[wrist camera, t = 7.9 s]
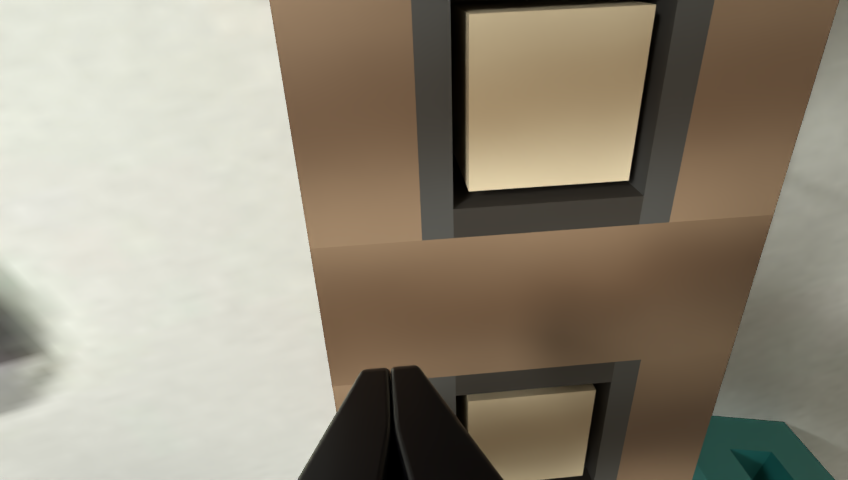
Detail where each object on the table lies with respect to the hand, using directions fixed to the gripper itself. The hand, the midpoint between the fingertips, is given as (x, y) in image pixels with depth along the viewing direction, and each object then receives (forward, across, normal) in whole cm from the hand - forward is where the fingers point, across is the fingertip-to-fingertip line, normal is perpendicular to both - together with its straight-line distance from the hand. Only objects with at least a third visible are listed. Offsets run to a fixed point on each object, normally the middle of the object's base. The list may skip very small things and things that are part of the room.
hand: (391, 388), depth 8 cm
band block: (+12, -4, +3) cm, 13 cm away
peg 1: (+12, -4, -3) cm, 13 cm away
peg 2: (+12, -4, +8) cm, 15 cm away
